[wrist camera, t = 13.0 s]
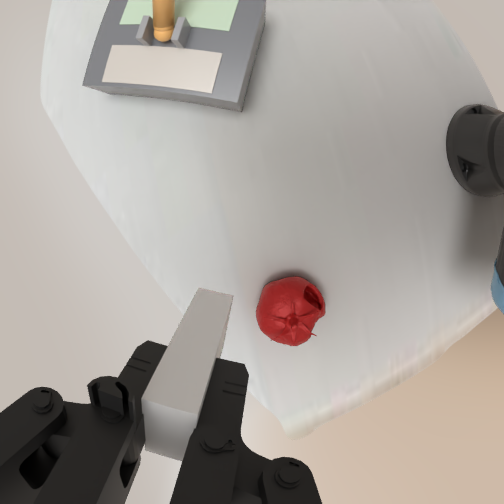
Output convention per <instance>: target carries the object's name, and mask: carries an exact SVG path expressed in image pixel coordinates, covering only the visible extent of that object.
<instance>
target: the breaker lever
mask: <svg viewBox="0 0 504 504" xmlns="http://www.w3.org/2000/svg"><path fill="white" fill-rule="evenodd" d="M152 9H153V27H154V37H155V38H156V39H157V40H158V41H161V42H165V41H168V40H170V39H171V37H172V34H173V31H174V25H175V0H152Z"/></svg>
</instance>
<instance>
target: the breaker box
mask: <svg viewBox="0 0 504 504" xmlns="http://www.w3.org/2000/svg"><path fill="white" fill-rule="evenodd" d="M265 8H266V0H175V25H174V31H173V34H172V37H171V39H170V40H168V41H165V42H161V41H158V40H157V39H156V38H155V37H154V27H153V9H152V0H110V1H109V4H108V6H107V9H106V11H105V14H104V17H103V19H102V22H101V25H100V28H99V31H98V34H97V37H96V40H95V43H94V46H93V49H92V52H91V55H90V59H89V62H88V66H87V69H86V73H85V77H84V81H83V85H82V86H86V87H89V88H92V89H96V90H99V91H102V92H105V93H108V94H119V95H131V96H142V97H151V98H160V99H168V100H175V101H183V102H189V103H196V104H202V105H208V106H214V107H219V108H224V109H230V110H235V111H240V112H242V108H243V104H244V100H245V96H246V92H247V88H248V84H249V80H250V76H251V72H252V69H253V65H254V61H255V57H256V54H257V50H258V46H259V43H260V39H261V36H262V32H263V28H264V25H265Z"/></svg>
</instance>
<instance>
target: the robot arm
mask: <svg viewBox="0 0 504 504" xmlns="http://www.w3.org/2000/svg"><path fill="white" fill-rule="evenodd" d="M446 146H447V156H448V161H449V164H450V167H451V170H452V172H453V174H454V176H455V178H456V179H457V181H458V182H459V183H460V185H461V186H462V187H463V188H464V189H466V190H467V191H469V192H470V193H473V194H476V195H479V196H484V197H492V196H496V195H500V194H504V112H501V111H499V110H497V109H495V108H492V107H490V106H487V105H482V104H476V105H468V106H465V107H463V108H461V109H460V110H459V111H458V112H457V113H456V114H455V115H454V117H453V118H452V120H451V122H450V125H449V128H448V132H447V142H446ZM491 291H492V297H493V300H494V302H495V304H496V305H497V307H498V308H499V309H500V310H501V312H502V313H503V314H504V227H503V232H502V238H501V243H500V247H499V252H498V256H497V258H496V260H495V263H494V274H493V279H492V283H491ZM232 300H233V296H232V295H228V294H224V293H219V292H215V291H211V290H206V289H202V288H198V290H197V292H196V294H195V296H194V298H193V300H192V301H191V303H190V305H189V307H188V309H187V311H186V313H185V315H184V316H183V318H182V320H181V322H180V324H179V326H178V328H177V330H176V332H175V334H174V336H173V337H172V339H171V341H170V343H169V345H168V346H165V345H162V344H158V343H155V342H152V341H146V342H144V343H143V344H142V345H140V346H138V347H137V348H136V350H135V351H134V353H133V355H132V356H131V358H130V359H129V361H128V362H127V365H126V366H125V367H124V369H123V370H122V372H121V374H120V375H119V377H118V378H117V377H112V376H104V377H99V378H97V379H94V380H92V381H91V382H90V383H89V384H88V385H87V387H88V392H89V396H90V401H91V403H90V404H80V403H73V402H66V401H63V399H62V397H61V395H60V394H59V393H58V392H57V391H55V390H53V389H51V388H47V387H38V388H34V389H32V390H30V391H28V392H27V393H26V394H25V395H23V396H22V397H21V398H19V399H18V400H16V401H15V402H14V403H13V404H11V405H10V406H9V407H7V408H6V409H5V410H3V411H2V412H1V413H0V504H125V501H126V499H127V496H128V494H129V491H130V488H131V486H132V483H133V481H134V478H135V476H136V473H137V471H138V468H139V465H140V460H141V457H140V453H141V451H142V448H143V446H144V443H145V450H146V451H149V452H153V453H156V454H159V455H162V456H166V457H169V458H173V459H176V460H180V461H182V465H181V468H180V471H179V474H178V478H177V481H176V484H175V488H174V491H173V494H172V498H171V501H170V504H322V502H321V499H320V496H319V493H318V490H317V486H316V484H315V481H314V477H313V475H312V472H311V471H310V469H309V467H308V466H307V465H305V464H304V463H303V462H302V461H299V460H297V459H294V458H290V457H281V458H277V459H273V460H269V459H267V458H265V457H262V456H260V455H258V454H256V453H254V452H252V451H251V450H250V449H249V448H248V447H247V446H246V445H245V444H244V442H243V440H242V437H241V424H242V417H243V411H244V404H245V397H246V391H247V384H248V377H249V374H248V372H247V369H246V367H245V364H242V363H237V362H233V361H228V360H224V359H220V356H221V353H222V349H223V345H224V340H225V335H226V330H227V325H228V320H229V315H230V310H231V305H232Z"/></svg>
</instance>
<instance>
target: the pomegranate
mask: <svg viewBox="0 0 504 504" xmlns="http://www.w3.org/2000/svg"><path fill="white" fill-rule="evenodd" d="M324 315H325V302H324V299H323V297H322V295H321V293H320V292H319V290H318V289H317V288H316V286H314V285H313V284H311V283H310V282H308V281H307V280H305V279H303V278H301V277H297V276H295V277H286V278H284V279H280V280H277V281H272V282H270V283H269V284H267V285H265V287H264V288H263V290H262V293H261V296H260V300H259V303H258V306H257V310H256V318H257V322H258V325H259V327H260V329H261V331H262V332H263V333H264V334H266V335H267V336H268V337H269V338H271V339H272V340H274V341H276V342H278V343H283V344H287V345H290V346H298V345H300V344H302V343H304V342H306V341H307V340H308V339H309V338H310V337H311V335H315V334H313V333H311V331H312V329H313V327H314V325H315V322H317V320H318V319H319V318H321V317H323V316H324ZM315 336H316V335H315ZM272 340H271V341H272Z"/></svg>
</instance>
